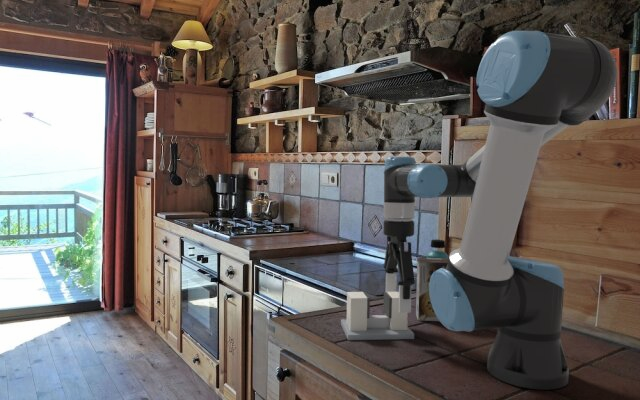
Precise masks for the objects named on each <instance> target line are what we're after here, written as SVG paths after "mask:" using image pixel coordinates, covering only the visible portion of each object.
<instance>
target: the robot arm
mask: <svg viewBox="0 0 640 400" xmlns="http://www.w3.org/2000/svg"><path fill="white" fill-rule="evenodd" d="M617 67H618V66H617V62H616V60H615V57H614V55H613V54H612V52H611V51H610V50H609V49H608V47H606V46H605V44H603V43H601V42H600V41H597V40H595V39H593V38H590V37H583V36H573V35H564V34H557V33H551V32H550V33H549V32H544V31H540V30H512V31H509V32H506V33H504V34H503V35H501V36H499V37H498V38H497V39H496V40H495V41H494V42H492V43H491V44H490V45H489V47H488V48H487V50H486V51H485V52H484V54H483V56H482V58H481V61H480V63H479V66H478V70H477V72H476V73H477V74H476V81H475V82H476V86H477V87H478V88H477V90H476V91H477V93H478V96H479V98H480V100H481V101H482V102H484V103H485V105H484V110H483V113H484V114H485V116H486V118H487V119H488V121H489V122H490V125H489V129H488V134H487V136H486V139H485V140H486V141H485V144H484V145H482V147H481V148H480V149H478V150H477V151H476V152H475V153H474V154H473V155H471V156H470V158H469V159H467V160H466V161H465V162H464V163H462V164H434V163H419V164H417V163H416V158H415V157H413V156H388V157H387V158H386V159H384V160H385V161H384V170H383V179H384V180H383V183H384V184H383V215H382V216H383V218H384V219H385V220H384V221H383V230H382V231H383V235H384V236H387V237H386V248H385V249H386V250H385V255H384V263H383V268H384V271H385V292H397V286H398V292H399V313H408V314H411V313H412V286H413V285H415V274H414V273H415V272H414V266H413V265H414V264H413V256H412V242H411V241H410V242H408V240H407V238H408V237H409V238H410V237H414V235H415V222H414V218H415V211H416V210H417V209H418V208H417V206H415V202H416V201H415V200H416V198H420V199H433V198H471V201H470V206H469V210H468V214H467V217H466V218H467V219H466V221H465V222H466V223H465V226H464V231H463V233H462V237H461V242H460V246H459V247H458V248H455V249H454V250H452V251H451V252H450V253H449V255H448V258H449V260H448V264H447V267H446V269H444V268H440V269H439V270H436V271H435V272H434V273H433V274H432V276H431V278H430V283H429V294H430V300H431V304H432V307H433V310H434V312H435V314H436V316H437V318H438V319H439V321H438V322H440V323H441V324H442V326H443V327H445V328H446V329H448V330H449V331H452V332H468V333H471V332H472V331H478V330H487V329H497V333H496V335H495V337H494V339H493V343H492V345H491V347H490V350H489V353H488V355H487V361H486V362H487V363H486V366H487V367H486V368H487V371H488V372H489V374H490V375H491V376H492V377H494V378H495V379H498V380H499V381H501V382H503V383H506V384H509V385H513V386H515V387H519V388H525V389H531V390H533V389H534V390H539V391H541V390H545V391H547V390H549V391H550V390H557V389H561V388H564V387H565V386H567V385H568V383H569V376H570V375H569V373H570V370H569V366H568V362H567V359H566V355H565V352H564V349H563V345H562V341H561V338H562V337H561V334H562V321H563V305H564V294H565V292H564V291H565V285H564V272H563V270H562V268H561V267H560V266H558V265H557V264H554V263H550V262H546V261H541V260H537V259H536V260H535V259H531V258H525V257H519V256H511V255H510V253H511V250H512V247H513V243H514V239H515V236H516V233H517V230H518V227H519V226H518V225H519V223H520V219H521V217H522V212H523V210H524V209H523V208H524V205H525V202H526V199H527V196H528V195H527V194H528V193H529V192H528V191H529V188H530V185H531V181H532V178H533V174H534V171H535V167H536V164H537V160H538V157H539V154H540V149H541V147H542V146H544V145H545V144H546V143H547V142H549V141H550V140H552V139H553V138H554V137H555V136H557V135H558V134H560V133H561V132H563V131H564V130H565V129H566V128H568V127H578V126H579V125H581V124H583V123H584V122H586V121H587V119H590V118H591V117H592V116H593V115H594V114H596V113H597V112H598V111H599V110H600V109H601V108H602V107H603V106H604V105H605V104H606V103H607V102H608V100H609V98H610V97H611V95H612V94H613V92H614V89H615V87H616V84H617V80H618V68H617ZM412 219H413V220H412ZM397 274H398V275H397ZM397 276H399V280H400V281H398V282H397V278H398V277H397Z"/></svg>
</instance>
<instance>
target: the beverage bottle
mask: <svg viewBox="0 0 640 400" xmlns="http://www.w3.org/2000/svg"><path fill="white" fill-rule="evenodd" d="M430 248H435V249H436V250H430V251H428V252H427V253H426V258H449V255H448V254H447V252H446V251H443V250H437V249H445V248H446V241H445V240H443V239H431V240H430Z"/></svg>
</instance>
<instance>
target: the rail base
mask: <svg viewBox="0 0 640 400" xmlns="http://www.w3.org/2000/svg"><path fill="white" fill-rule="evenodd" d="M370 300H371V299H370V295H368V294H367V292H366V291H347V292H346V318H345V319H340V325H341V327H342V329H343V332H344V334H345V337H346V338H347V341H368V340H370V341H373V340H375V341H376V340H377V341H378V340H414V339H415V333H414V331H412V329H411V328H410V327H409V326H408V325H407V330H391V329H390V318H388V316H387V315H386V314H383V315H382V314H381V315H380V314H378V315H376V314H375V315H373V314H372V315H371V314H370V306H371V305H370V303H371V301H370Z"/></svg>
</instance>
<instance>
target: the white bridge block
mask: <svg viewBox="0 0 640 400" xmlns="http://www.w3.org/2000/svg"><path fill="white" fill-rule="evenodd" d="M382 309H383V313H384V315H387V316H388V318H390V329H391V330H407V326H408V316H409V315H408V314H409V313H399V291H396V292H386V291H383V308H382Z"/></svg>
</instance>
